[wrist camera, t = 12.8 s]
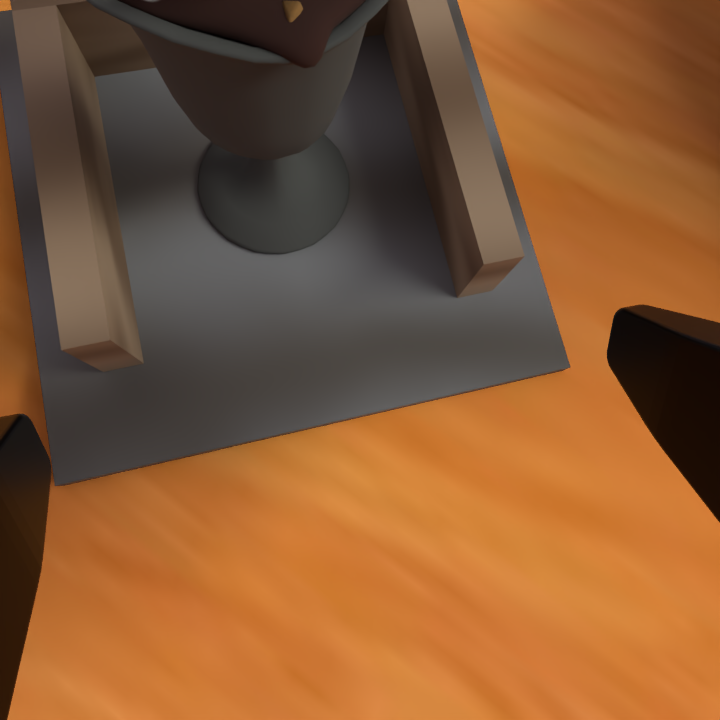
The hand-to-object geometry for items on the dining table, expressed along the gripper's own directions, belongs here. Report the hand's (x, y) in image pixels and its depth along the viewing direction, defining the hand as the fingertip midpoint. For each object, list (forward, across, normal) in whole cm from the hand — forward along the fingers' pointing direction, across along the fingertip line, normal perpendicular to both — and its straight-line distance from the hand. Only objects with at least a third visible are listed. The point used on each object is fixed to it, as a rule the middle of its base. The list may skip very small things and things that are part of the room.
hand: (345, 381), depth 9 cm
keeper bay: (+13, 0, +1) cm, 13 cm away
